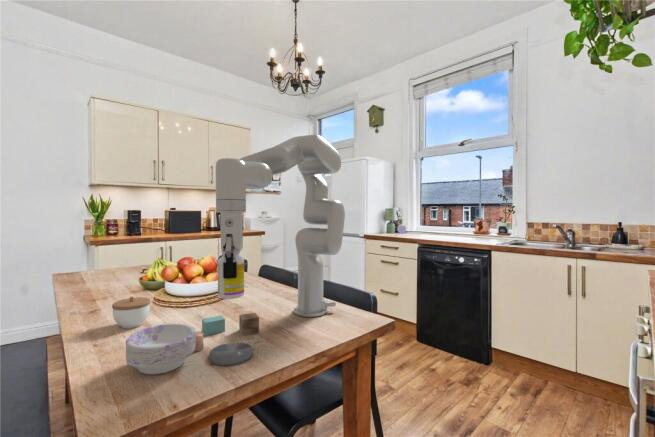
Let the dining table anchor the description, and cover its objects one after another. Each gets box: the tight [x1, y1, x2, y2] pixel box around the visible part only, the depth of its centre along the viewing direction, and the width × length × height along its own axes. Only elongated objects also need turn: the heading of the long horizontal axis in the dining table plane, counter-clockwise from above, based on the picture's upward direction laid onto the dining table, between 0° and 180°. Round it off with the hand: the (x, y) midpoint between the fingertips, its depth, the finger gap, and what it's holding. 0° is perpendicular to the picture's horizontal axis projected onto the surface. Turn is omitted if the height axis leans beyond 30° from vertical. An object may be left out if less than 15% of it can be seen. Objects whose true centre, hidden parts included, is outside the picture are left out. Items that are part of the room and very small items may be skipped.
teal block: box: [201, 315, 226, 336], centre depth 101 cm, size 6×4×4 cm, turn 124°
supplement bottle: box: [217, 247, 245, 300], centre depth 83 cm, size 7×7×13 cm
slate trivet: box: [208, 341, 254, 367], centre depth 84 cm, size 11×11×1 cm
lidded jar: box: [111, 296, 151, 329], centre depth 105 cm, size 11×11×9 cm
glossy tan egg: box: [193, 331, 204, 353], centre depth 88 cm, size 4×4×4 cm
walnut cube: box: [238, 312, 260, 337], centre depth 100 cm, size 5×5×5 cm
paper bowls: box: [125, 322, 197, 375], centre depth 79 cm, size 15×15×8 cm
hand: (231, 274), depth 84 cm, fingers closed on supplement bottle, 6 cm apart
